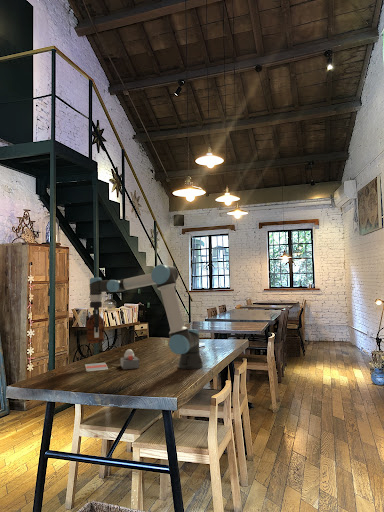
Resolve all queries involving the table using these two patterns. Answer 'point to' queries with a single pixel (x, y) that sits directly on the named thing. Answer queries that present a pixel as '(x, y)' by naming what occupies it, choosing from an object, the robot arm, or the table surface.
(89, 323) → the wooden figurine
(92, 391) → the table surface
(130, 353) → the dome
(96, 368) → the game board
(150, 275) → the robot arm
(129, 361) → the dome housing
